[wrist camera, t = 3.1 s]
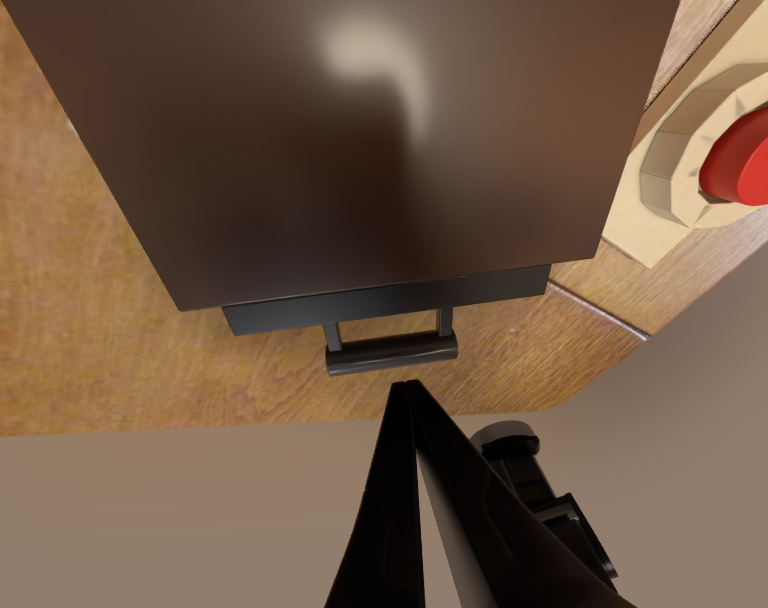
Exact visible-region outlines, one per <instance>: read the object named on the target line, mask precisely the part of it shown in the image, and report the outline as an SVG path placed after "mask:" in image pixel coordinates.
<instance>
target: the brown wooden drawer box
mask: <svg viewBox="0 0 768 608" xmlns="http://www.w3.org/2000/svg"><path fill="white" fill-rule="evenodd" d="M1 1H2V2H3V4H4V6H5V8H6V9H7V11H8V13H9V15H10V16H11V18H12V20H13V22H14V23H15V25H16V27H17V28H18V30H19V32H20V34H21V35H22V37H23V39H24V41H25V42H26V44H27V46H28V48H29V49H30V51H31V53H32V55H33V56H34V58H35V60H36V62H37V63H38V65H39V67H40V69H41V70H42V72H43V74H44V76H45V77H46V79H47V81H48V83H49V84H50V86H51V88H52V90H53V91H54V93H55V95H56V97H57V98H58V100H59V102H60V104H61V105H62V107H63V109H64V111H65V112H66V114H67V116H68V118H69V119H70V121H71V123H72V125H73V126H74V128H75V130H76V132H77V133H78V135H79V137H80V139H81V140H82V142H83V144H84V146H85V147H86V149H87V151H88V153H89V154H90V156H91V158H92V159H93V161H94V163H95V165H96V166H97V168H98V170H99V172H100V173H101V175H102V177H103V179H104V180H105V182H106V184H107V186H108V187H109V189H110V191H111V193H112V194H113V196H114V198H115V200H116V201H117V203H118V205H119V207H120V208H121V210H122V212H123V214H124V215H125V217H126V219H127V221H128V222H129V224H130V226H131V228H132V229H133V231H134V233H135V235H136V236H137V238H138V240H139V242H140V243H141V245H142V247H143V249H144V250H145V252H146V254H147V256H148V257H149V259H150V261H151V263H152V264H153V266H154V268H155V270H156V271H157V273H158V275H159V277H160V278H161V280H162V282H163V283H164V285H165V287H166V289H167V290H168V292H169V294H170V296H171V297H172V299H173V301H174V303H175V304H176V306H177V308H178V310H179V311H181V312H184V311H192V310H199V309H207V308H215V307H222V306H230V305H238V304H246V303H253V302H261V301H269V300H276V299H284V298H292V297H299V296H307V295H315V294H322V293H330V292H338V291H346V290H353V289H361V288H369V287H376V286H384V285H392V284H399V283H407V282H415V281H423V280H430V279H438V278H446V277H453V276H461V275H469V274H476V273H484V272H492V271H499V270H507V269H515V268H523V267H530V266H538V265H546V264H553V263H561V262H569V261H576V260H584V259H592V258H594V256H595V254H596V251H597V248H598V245H599V242H600V239H601V236H602V233H603V230H604V227H605V224H606V221H607V218H608V215H609V212H610V209H611V206H612V203H613V200H614V197H615V194H616V191H617V188H618V185H619V182H620V179H621V176H622V173H623V170H624V167H625V164H626V161H627V159H628V156H629V153H630V150H631V147H632V144H633V141H634V138H635V135H636V132H637V129H638V126H639V123H640V120H641V117H642V114H643V111H644V108H645V105H646V102H647V99H648V96H649V93H650V90H651V87H652V84H653V81H654V78H655V75H656V72H657V69H658V66H659V63H660V60H661V57H662V54H663V51H664V48H665V45H666V42H667V39H668V36H669V33H670V30H671V28H672V25H673V22H674V19H675V16H676V13H677V10H678V7H679V4H680V1H681V0H1Z"/></svg>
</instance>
